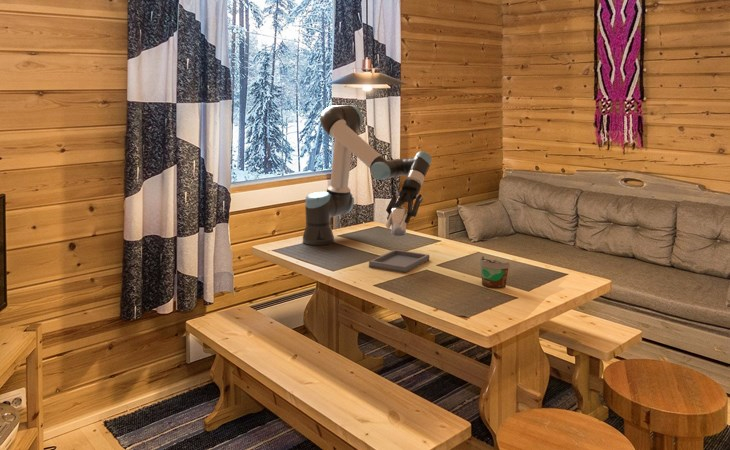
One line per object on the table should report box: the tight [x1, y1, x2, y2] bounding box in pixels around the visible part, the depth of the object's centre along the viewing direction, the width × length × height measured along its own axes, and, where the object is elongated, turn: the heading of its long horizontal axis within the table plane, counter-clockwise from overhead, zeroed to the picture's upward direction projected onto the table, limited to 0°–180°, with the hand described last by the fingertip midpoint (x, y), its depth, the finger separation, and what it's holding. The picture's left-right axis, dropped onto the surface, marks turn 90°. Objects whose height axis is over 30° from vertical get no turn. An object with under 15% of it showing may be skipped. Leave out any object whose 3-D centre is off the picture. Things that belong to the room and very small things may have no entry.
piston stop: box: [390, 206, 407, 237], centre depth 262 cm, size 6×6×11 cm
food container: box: [478, 256, 511, 290], centre depth 235 cm, size 12×6×10 cm, turn 45°
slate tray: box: [368, 249, 430, 274], centre depth 266 cm, size 17×22×2 cm
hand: (394, 227), depth 260 cm, fingers closed on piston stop, 6 cm apart
